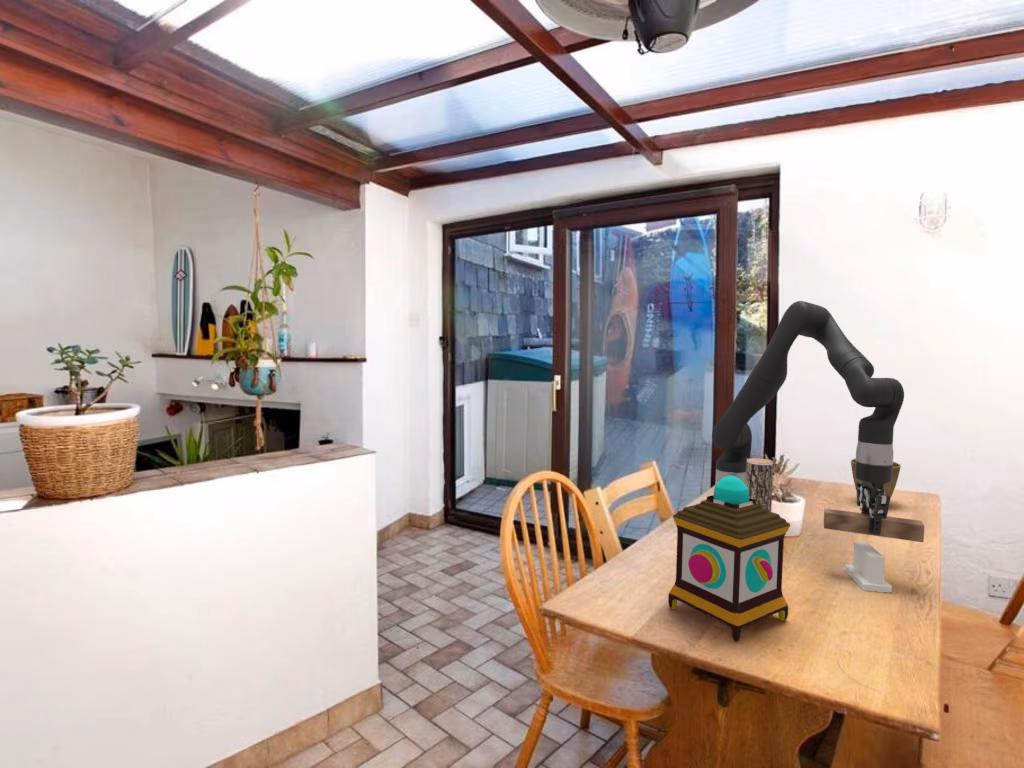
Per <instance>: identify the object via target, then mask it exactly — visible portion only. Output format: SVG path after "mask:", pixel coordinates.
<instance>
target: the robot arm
mask: <svg viewBox="0 0 1024 768" xmlns="http://www.w3.org/2000/svg"><path fill="white" fill-rule="evenodd" d="M799 336H800V337H801V336H802V337H805V338H812V339H813V340H815V341H816V342H817V343H819V344H821V346H823V347H824V349H825V350H826V356H827V360H828V361H829V363H830V365H831V366H832V368H833V369H834V370H835V371H836V372H837V373H838V375H840V377H841V378H842V379H843V380H844V382H845V384H846V387H847V389H848V391H849V395H850V397H851V398H852V400H853V401H854V402H855V403H856V404H857V405H859V406H861V407H863V408H874V410H873V412H872V414H870V415H867V416H865V417H863V418H860V420H859V422H858V429H857V430H858V431H857V433H858V435H857V445H856V449H855V459H856V463H855V477H856V478H857V479H858V480H861V481H862V482H857V483H856V488H855V490H857V491H856V505H857V507H859V511H860V513H864V514H870V524H869V532H870V533H871V534H880V533H881V519H886V518H887V516H888V513H889V507H890V502H891V499H890V496H888V495H885V491H884V486H883V485H884V484H885V483H890V482H891V481H892V471H893V462H894V447H893V446H894V444H893V442H894V430H895V429H894V428H895V425H896V422H897V419H898V417H899V414H900V412H901V409H902V406H903V404H904V399H905V390H904V387H903V384H902V383H901V382H900V381H899V380H898V379H895V378H893V377H873V375H874V372H875V367H874V365H873V364H872V362H870V360H869V359H868V358H867V357H866V356H865V355H864V354H863V353H862V352H861V351H860V350H859V349H858V348H857V347H856V346H854V344H853V343H852V342H851V341H850V340H849V339H848V337H847V336H846V335H845V334H844V331H842V329H841V328H840V325H838V323H837V321H836V319H835V318H834V317H833V315H832V314H831V312H830V311H829V309H827V308H826V307H824V306H822V305H819V304H815V303H812V302H807V301H803V300H798V301H795V302H792V304H790V305H789V306H788V308H787V309H786V310H785V312H784V313H783V314H782V317H781V319H780V320H779V324H778V325H777V327H776V329H775V331H774V333H773V335H772V337H771V340H770V341H769V343H768V345H767V346H766V348H765V350H764V351H763V353H762V355H761V356H760V358H759V360H758V361H757V363H756V365H755V366H754V367H753V369H752V370H751V372H750V374H749V375H748V377H747V379H746V380H745V382H744V384H743V386H742V387H741V389H740V390H739V392H738V393H737V395H736V397H735V398H734V400H733V402H732V403H731V405H730V406H729V407H728V409H727V410H726V411H725V412H724V413H723V415H722V416H721V417H720V418H719V420H718V421H717V422H716V424H715V425H714V427H713V430H712V433H711V438H712V442H713V445H715V447H716V448H718V449H720V450H723V452H722V454H721V455H720V456H719V457H718V459H716V462H715V463H716V464H715V485H716V484H717V483H718V482H719V481H720V480H721V479H723V478H724V477H727V476H735V477H737V478H739V479H740V480H741V481H742V482H743V483H744V484H745V485H746V467H747V459H750V458H751V452H752V443H753V442H752V441H753V437H752V429H751V427H750V425H749V421H750V420H751V419H752V418H753V416H755V415H756V414H757V413H758V412H759V411H760V410H762V409H763V408H764V407H765V406H767V404H769V403H770V402H771V401H772V400H773V399H774V398H775V396H776V395H777V393H778V392H779V390H780V389H781V387H782V386H783V385H784V383H785V382H786V380H787V375H788V357H789V352H790V349H791V347H792V346H793V344H794V342H795V341H796V339H797V338H798V337H799ZM715 485H714V486H715ZM874 504H875V505H874Z"/></svg>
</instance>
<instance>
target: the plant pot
mask: <svg viewBox="0 0 1024 768" xmlns="http://www.w3.org/2000/svg"><path fill="white" fill-rule="evenodd" d="M855 463H856V458H853V459H851V460H850V465H851V466H850V467H851V473H852V478H853V479H852V480H853V483H854V487H855V490H856V483H857V482H862V481H861V480H858V479H857V478H856V477H855ZM901 467H902V465H901V463H898V462H895V461H893V471H892V481H891V482H890V483H885V484H884V485H883V486H884V491H885V495H888V496H890V500H891V498H892V496H893V495H894V492H895V489H896V485H897V483H898V480H899V475H900V471H901ZM856 492H857V490H856ZM874 505H875V504H874Z"/></svg>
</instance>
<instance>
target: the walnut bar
mask: <svg viewBox="0 0 1024 768" xmlns="http://www.w3.org/2000/svg"><path fill="white" fill-rule="evenodd" d="M869 524H870V514H864V513H861V512H857V511H855V512H854V511H848V510H840V509H831V508H824V510H823V529H825V530H826V529H827V530H833V531H840V532H847V533H852V534H854V533H855V534H861V535H868V536H874V537H876V536H877V537H881V538H889V539H896V540H902V541H910V542H917V543H924V540H925V539H924V538H925V524H924V523H923V521H922V520H917V519H911V518H910V519H909V518H904V517H903V518H901V517H894V516H888V515H887V518H886V519H881V533H880V534H871V533H870V532H869Z"/></svg>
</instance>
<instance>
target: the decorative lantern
mask: <svg viewBox="0 0 1024 768" xmlns="http://www.w3.org/2000/svg"><path fill="white" fill-rule="evenodd" d="M672 519H673V521H674V524H675V525H676V530H677V532H676V533H677V536H676V564H675V565H676V567H675V580H674V581H675V582H674V584H673V586H672V587H671V588H670V591H669V593H668V597H667V598H668V606H669V608H670V609H672V610H675V609H676V608H677V605H678V602H680V603H682V604H685V605H687V607H690V608H693V609H695V610H696V611H698V612H700V613H702V614H704V615H706V616H709V617H710V618H712V619H714V620H716V621H718V622H720V623H722V624H724V625H727V626H728V627H729V629H730V631H731V636H732V640H733V642H735V643H738V642H739V641H741V634H742V631H743V629H744V628H746V627H747V626H750V625H752V624H754V623H756V622H757V623H758V622H759V621H762V620H764V619H767V618H768V617H771V616H773V615H776V614H778V619H779V620H780V621H781V622H786V620H787V619H788V615H789V605H788V602H787V599H786V598H785V596H784V594H783V592H782V591H783V590H782V589H783V588H782V587H783V566H784V548H785V547H784V544H785V536H786V533H787V532H788V531H789V530H790V527H791V524H790V523H789V522H788V521H787V520H786V518H784V517H781V515H780V514H778V513H776V512H772V511H771V512H769V511H767V510H766V509H764V508H762V507H761V505H759V504H757V503H756V500H754V499H751V498H749V490H748V487H747V486H746V485H745V484H744V483H743V482H742V481H741V480H740V479H739V478H737V477H735V476H727V477H724V478H723V479H721V480H720V481H719V482H718V483H717V484H716V485H714V489H713V495H708V496H706V499H704V500H703V499H702V500H701V501H700V502H699V503H696V504H693V505H689V506H685V507H683V508H682V509H680V510H678V511H676V513H674V514H673V515H672Z"/></svg>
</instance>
